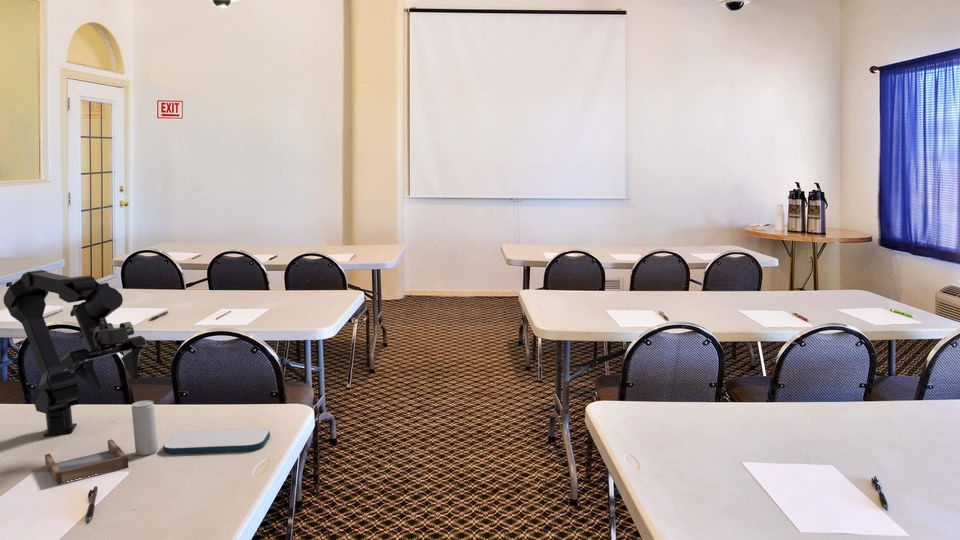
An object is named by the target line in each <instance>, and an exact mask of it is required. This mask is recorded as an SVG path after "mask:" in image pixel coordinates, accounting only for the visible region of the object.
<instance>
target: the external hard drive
mask: <svg viewBox="0 0 960 540" xmlns="http://www.w3.org/2000/svg"><path fill="white" fill-rule="evenodd" d="M270 438H271V431H270V430H269V429H268V428H240V429H239V428H235V429H210V430H209V429H207V430H188V431H182V432H178V433H175V434H173V435H172V436H171V437H169V439H168V440H167V441H166V442H164V444H163V446H162V450H163V452H164V454H165V455H173V456H174V455H197V454H220V453H221V454H222V453H223V454H224V453H245V452H255V451H259V450H261V449H263V448H264V447H265V446H266V444H267V443H268V442H269V439H270Z"/></svg>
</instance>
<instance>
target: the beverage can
mask: <svg viewBox="0 0 960 540" xmlns="http://www.w3.org/2000/svg"><path fill="white" fill-rule="evenodd" d="M131 417H132V426H133V428H132V429H133V436H134V446H135V447H134V448H135V453H136V454H137V455H138V456H142V457H146V456H150V455H153V454H155V453H156V452H157V451H158V450H159V447H158V446H159V445H158V444H159V443H158V435H157V433H158V432H157V422H156V421H157V420H156V409H155V404H154V400H149V399H146V400H139V401H136V402H133V403H131Z"/></svg>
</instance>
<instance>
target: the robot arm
mask: <svg viewBox="0 0 960 540" xmlns="http://www.w3.org/2000/svg"><path fill="white" fill-rule="evenodd" d="M49 292H50V293H53V294H57V295H58V298H59V299H60V300H62V301H63V302H66V303H69V304H71V303H76V302H77V304H73V305H72V309H71V310H70V317H75V319H76V320H77V324H78V325H79V329H80V330H81V332H82V333H81V335H80V340H81V341H82V340H83V341H85V343H86V346H87V348H88V349H86V348H82V349H78V350H77V349H76V350H73V351H70V352H68V353H67V354H66V355H65V356H64V357H62V358H60V355H59V354H58V351H57V349H56V346H55V344H54V341H53V338H52V336H51V333H50V330H49V328H48V326H47V323H46V321H45V318H44V313H45V309H46V306H47V305H46V304H47V303H46V300H45V299H46V298H47V296H48V295H49ZM2 298H3V304H4V306H5V307H6V308H7V311H8V312H9V315H10V316H11V317H12V318H14V319H15V320H16V321H18V322H20V324H21V325H22V327H23V329H24V332H25V335H26V337H27V340H28V342H29V345H30V348H31V350H32V353H33V355H34V358H35V361H36V363H37V366H38V368H39V371H40V374H41V376H40V381H39V385H38V388H39V392H40V393H39V394H38V396H37V398H36V400H35V401H34V403H33V404H34V407H35V410H36V412H37V413H42V414H45V418H46V419H45V421H46V430H45V431H44V433H43V434H42V435H43V437H47V436H55V435H65V434H71V433H73V432H74V430H75V429H76V427H77V425H78V424H77V423H76V422H75V423H73V415H72V407H73V406H76V405H80V400H81V394H82V393H81V391H82V388H81V385H80V381H78V379H77V376H78V377H80V378H81V379H82V380H84V381H85V382H86V383H87V384H89V385H90V386H91V387H92V388H93V389H94V390H96V392H101V391H102V386H101V383H100V380H99V378H98V376H97V373H96V371H95V368H94V360H95V359H101V358H103V357H107V356H111V355H115V354H120V355H122V357H121V358H120V359H121V361H122V363H123V365H124V366H125V368H126V370H127V372H128V374H129V376H130V377H131V379H132V380H133V382H136V381H137V380H138V370H139V369H138V367H139V366H138V363H139V361H138V360H139V355H140V353H141V352H142V351H143V350H144V348H145V347H146V346H148V343H147V339H146V338H145V337H144V336H142V335H138V336H133V335H134V334H135V330H134V327H133V325H132V322H131V321H125V322H122V323H120V324H119V327H114V326H113V324H112V322H108V321H107V319H106V318H107V317H109V316H110V315H111V314H112V313H114V312H115V311H116V310H117V309H119V308H120V307H121V306H122V305H123V302H124V301H123V300H124V298H123V294H122V293H120V291H119V290H118V289H116V288H114V287H112V286H110V284H109V282H103V283H99V282H98V281H97V280H96V279H95V278H94V277H93V276H92V275H81V276H71V277H69V276H66V275H60V274H58V273H53V272H48V271H46V270H43V269H39V270H33V271H26V272H24V273H23V274H22V276H21V277H20V279H18V280H17V281H15V282H14V283H12V284H11V285H10V286H8V288H7V289H6V292H5V293H4V295H3V297H2ZM81 301H82V302H81ZM78 302H81V303H78ZM129 336H133V337H129Z"/></svg>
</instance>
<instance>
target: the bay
mask: <svg viewBox="0 0 960 540" xmlns="http://www.w3.org/2000/svg"><path fill="white" fill-rule="evenodd" d="M107 448H108V450H106V451H102V452H97V453H94V454H89V455H85V456H84V455H83V456H80V457H76V458H72V459H67V460H64V461H63V460H62V461H59V462H55V460H54V458H53V456H52V455H51V453H45V454H44V459H45V462H44V463H45V466H46V468H47V470H48V472H49V473H50V475H51V476H53V477H52V478H54V479H53V480H54V482H55V483H57V484H60V485H62V484H61V483H64V482H67V481H71V480H75V479H79V478H83V479H85V478H84V477H87V478H89V477H88V476H91V477H93V476H92V475H95V474H99V475H102V474H101V473H103V474H106V473H111V472H114V471H119V470H122V469H126V468H129V459H128V455H127V454H126V453H125V452H124V451H123V450H122V448H120V447H119V445H118V444H117V443H116V442H115V441H114V440H113V439H108V440H107ZM95 476H96V475H95ZM79 480H80V479H79ZM75 481H76V480H75ZM57 484H56V485H57ZM64 484H65V483H64Z"/></svg>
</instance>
